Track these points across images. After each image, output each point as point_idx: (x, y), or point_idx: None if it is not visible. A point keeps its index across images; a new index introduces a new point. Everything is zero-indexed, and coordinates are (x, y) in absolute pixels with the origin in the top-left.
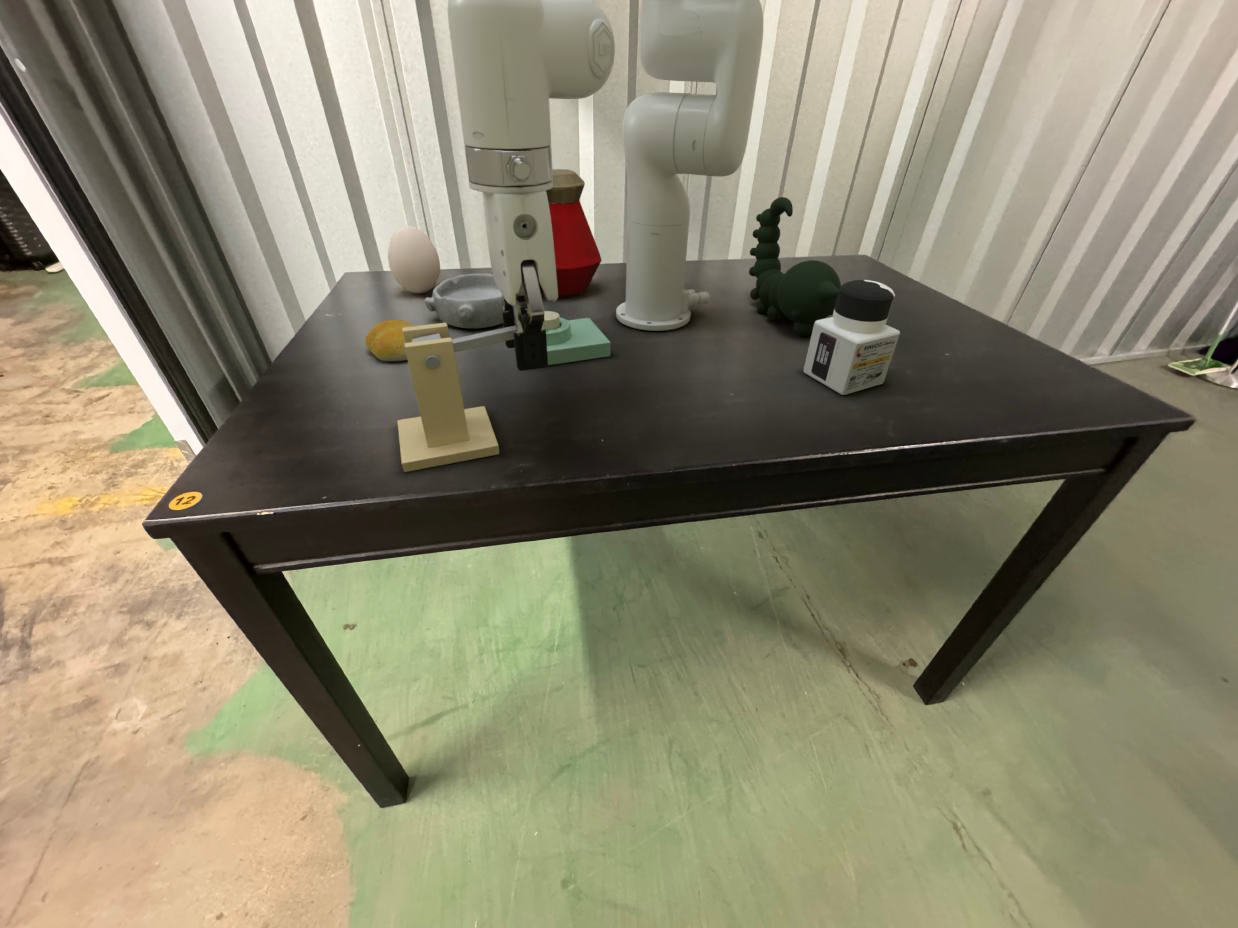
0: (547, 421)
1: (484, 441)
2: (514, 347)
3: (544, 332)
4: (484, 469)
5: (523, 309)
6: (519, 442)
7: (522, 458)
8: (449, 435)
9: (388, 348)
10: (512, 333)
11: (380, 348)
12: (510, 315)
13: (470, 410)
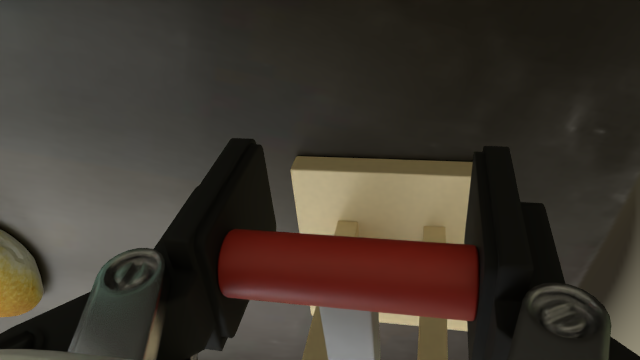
0: (378, 8)
1: (464, 200)
2: (273, 212)
3: (588, 299)
4: (542, 201)
5: (191, 288)
6: (461, 108)
7: (543, 117)
8: None
9: (24, 301)
10: (375, 325)
11: (24, 310)
12: (226, 324)
13: (306, 201)
